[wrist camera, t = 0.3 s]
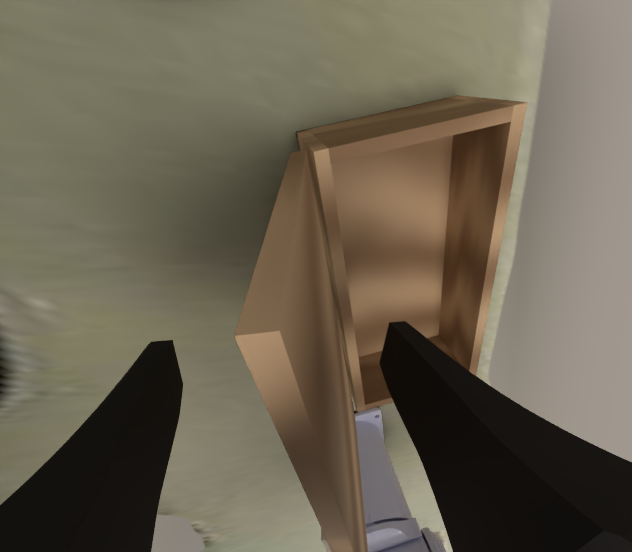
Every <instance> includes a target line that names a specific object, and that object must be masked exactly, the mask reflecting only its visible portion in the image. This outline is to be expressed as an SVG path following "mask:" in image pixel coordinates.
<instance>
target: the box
mask: <svg viewBox="0 0 632 552" xmlns="http://www.w3.org/2000/svg"><path fill="white" fill-rule="evenodd" d="M526 107H527V102H519V101H508V100H498V99H488V98H478V97H468V96H453V97H449V98H444V99H440V100H436V101H431V102H427V103H422V104H418V105H413V106H409V107H405V108H400V109H396V110H391V111H387V112H382V113H378V114H374V115H369V116H365V117H360V118H356V119H351V120H347V121H343V122H338V123H334V124H329V125H325V126H320V127H316V128H312V129H307V130H303V131H298V132H296V136H297V141H298V146H299V151H302V150H306V151H307V156H308V162H309V167H310V173H311V178H312V184H313V189H314V195H315V200H316V206H317V211H318V217H319V222H320V228H321V233H322V239H323V244H324V250H325V255H326V261H327V266H328V272H329V277H330V283H331V288H332V294H333V299H334V305H335V310H336V316H337V321H338V327H339V332H340V338H341V343H342V349H343V354H344V360H345V365H346V371H347V376H348V382H349V387H350V391H351V394H352V397H353V400H354V403H355V406H356V409H357V412H360V411H364V410H367V409H371V408H374V407H378V406H381V405H385V404H388V403H392V402H394V401H393V399H392V397H391V395H390V393H389V391H388V388H387V385H386V382H385V379H384V376H383V373H382V370H381V367H380V363H379V362H380V358H381V354H382V350H383V346H384V342H385V338H386V334H387V329H388V325H389V322H400V321H406V322H407V323H408V324H410V325H411V326H412V327H414V328H415V329H416V330H417V331H419V332H420V333H421V334H422V335H424V336H425V337H426V338H427V339H428V340H430V341H431V342H432V343H433V344H435V345H436V346H437V347H438V348H440V349H441V350H442V351H443V352H445V353H446V354H447V355H448V356H450V357H451V358H452V359H454V360H455V361H456V362H458V363H459V364H460V365H461V366H463V367H464V368H466V369H467V370H468V371H470V372H471V373H472V374H474V375H475V376H476V373H477V368H478V362H479V357H480V352H481V346H482V341H483V336H484V330H485V325H486V320H487V315H488V309H489V304H490V299H491V293H492V288H493V283H494V277H495V272H496V267H497V261H498V256H499V251H500V245H501V240H502V235H503V230H504V224H505V219H506V214H507V208H508V203H509V198H510V192H511V187H512V182H513V176H514V171H515V166H516V161H517V155H518V150H519V145H520V139H521V134H522V129H523V123H524V118H525V113H526Z"/></svg>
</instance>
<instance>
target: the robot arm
mask: <svg viewBox="0 0 632 552" xmlns="http://www.w3.org/2000/svg"><path fill="white" fill-rule="evenodd" d="M379 363H380V367H381V370H382V373H383V376H384V379H385V382H386V385H387V388H388V391H389V393H390V395H391V397H392V399H393V401H394V403H395V406H396V408H397V410H398V412H399V414H400V416H401V418H402V420H403V422H404V425H405V427H406V429H407V431H408V433H409V435H410V437H411V439H412V441H413V443H414V445H415V447H416V450H417V452H418V454H419V456H420V459H421V461H422V463H423V466H424V469H425V471H426V474H427V477H428V479H429V482H430V485H431V488H432V490H433V493H434V496H435V499H436V502H437V504H438V507H439V510H440V513H441V516H442V519H443V522H444V525H445V528H446V531H447V534H448V537H449V540H450V543H451V546H452V550H453V552H632V462H629V461H627V460H625V459H622V458H620V457H618V456H616V455H614V454H612V453H609V452H607V451H605V450H603V449H601V448H599V447H597V446H595V445H593V444H590V443H589V442H587V441H584V440H583V439H581V438H579V437H577V436H574V435H573V434H571V433H569V432H567V431H565V430H563V429H561V428H559V427H558V426H556V425H554V424H552V423H550V422H548V421H546V420H545V419H543V418H541V417H539V416H538V415H536V414H534V413H532V412H530V411H529V410H527V409H525V408H523V407H522V406H521V405H519V404H517V403H516V402H514V401H512V400H511V399H509V398H508V397H506V396H505V395H503V394H501V393H500V392H498V391H497V390H495V389H494V388H492V387H491V386H489V385H488V384H486V383H485V382H484V381H482V380H481V379H479V378H478V377H477V376H475V375H474V374H472V373H471V372H470V371H468V370H467V369H466V368H464V367H463V366H461V365H460V364H459V363H458V362H456V361H455V360H454V359H452V358H451V357H450V356H448V355H447V354H446V353H445V352H443V351H442V350H441V349H440V348H438V347H437V346H436V345H435V344H433V343H432V342H431V341H430V340H428V339H427V338H426V337H425V336H424V335H422V334H421V333H420V332H419V331H417V330H416V329H415V328H414V327H412V326H411V325H410V324H408V323H407V322H406V321H400V322H389V325H388V329H387V334H386V338H385V342H384V346H383V350H382V354H381V358H380V362H379ZM182 390H183V382H182V378H181V373H180V369H179V365H178V361H177V357H176V353H175V349H174V345H173V340H168V341H156V342H151V343H150V344H149V345H148V346H147V347H146V348H145V350H144V351H143V352H142V353H141V355H140V356H139V357H138V359H137V360H136V361H135V363H134V364H133V365H132V366H131V368H130V369H129V370H128V371H127V373H126V374H125V375H124V377H123V378H122V379H121V380H120V382H119V383H118V384H117V385H116V386H115V388H114V389H113V390H112V391H111V392H110V394H109V395H108V396H107V397H106V398H105V400H104V401H103V402H102V403H101V404H100V405H99V407H98V408H97V409H96V410H95V411H94V412H93V413H92V414H91V415H90V417H89V418H88V419H87V420H86V421H85V422H84V423H83V424H82V425H81V427H80V428H79V429H78V430H77V431H76V432H75V433H74V434H73V435H72V436H71V437H70V439H69V440H68V441H67V442H66V443H65V444H64V445H63V446H62V447H61V448H60V449H59V450H58V451H57V452H56V453H55V454H54V455H53V456H52V457H51V458H50V459H49V460H48V461H47V462H46V463H45V464H44V465H43V466H42V467H41V468H40V469H39V470H38V471H37V472H36V473H35V474H34V475H33V476H32V477H31V478H29V479H28V480H27V481H26V482H25V483H24V484H23V485H22V486H21V487H20V488H19V489H18V490H16V491H15V492H14V493H13V494H12V495H11V496H10V497H9V498H8V499H7V500H6V501H4V502H3V503H2V504H1V505H0V552H151V548H152V541H153V535H154V528H155V521H156V515H157V509H158V504H159V499H160V494H161V490H162V486H163V482H164V478H165V474H166V470H167V465H168V461H169V457H170V453H171V449H172V445H173V441H174V437H175V432H176V428H177V424H178V419H179V414H180V407H181V399H182ZM354 415H355V422H356V432H357V442H358V452H359V462H360V473H361V483H362V493H363V503H364V513H365V524H366V534H367V544H368V552H446V550H445V548H444V546H443V544H442V542H441V540H440V539H439V537H438V536H437V535H436V534H435V533H433V532H432V531H430V529H429V528H423V529H421V531H420V528H419V526H418V523H417V521H416V518H412V515H411V513H410V510H409V507H408V505H407V502H406V499H405V497H404V494H403V492H402V489H401V486H400V484H399V481H398V478H397V476H396V473H395V471H394V468H393V465H392V463H391V460H390V457H389V455H388V452H387V450H386V447H385V444H384V435H383V424H382V413H381V410H380V408H378V407H376V408H372V409H369V410H365V411H362V412H358V413H355V414H354Z"/></svg>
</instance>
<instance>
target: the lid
mask: <svg viewBox="0 0 632 552" xmlns="http://www.w3.org/2000/svg"><path fill="white" fill-rule="evenodd" d="M234 337H235V339H236V341H237V344H238V346H239V348H240V350H241V352H242V355H243V357H244V359H245V361H246V363H247V365H248V368H249V370H250V372H251V374H252V376H253V379H254V381H255V383H256V385H257V387H258V390H259V392H260V394H261V396H262V398H263V401H264V403H265V405H266V407H267V409H268V412H269V414H270V416H271V418H272V420H273V423H274V425H275V427H276V429H277V431H278V434H279V436H280V438H281V440H282V442H283V444H284V447H285V449H286V451H287V453H288V455H289V458H290V460H291V462H292V464H293V466H294V469H295V471H296V473H297V475H298V477H299V480H300V482H301V484H302V486H303V488H304V491H305V493H306V495H307V497H308V499H309V502H310V504H311V506H312V508H313V510H314V512H315V515H316V517H317V519H318V521H319V523H320V526H321V540H322V542H323V544H324V546H325V548H326V550H327V552H368V544H367V534H366V524H365V513H364V503H363V493H362V483H361V473H360V462H359V452H358V442H357V432H356V422H355V415H354V409H353V404H352V398H351V393H350V387H349V382H348V376H347V371H346V365H345V360H344V354H343V349H342V343H341V338H340V332H339V327H338V321H337V316H336V310H335V305H334V299H333V294H332V288H331V283H330V277H329V272H328V266H327V261H326V255H325V250H324V244H323V239H322V233H321V228H320V222H319V217H318V211H317V206H316V200H315V195H314V189H313V184H312V178H311V173H310V167H309V162H308V156H307V151H306V150H302V151H296V152H291V153H290V157H289V160H288V163H287V166H286V170H285V173H284V176H283V179H282V183H281V186H280V189H279V192H278V196H277V199H276V202H275V205H274V209H273V212H272V215H271V218H270V221H269V225H268V228H267V231H266V234H265V238H264V241H263V244H262V247H261V251H260V254H259V257H258V260H257V264H256V267H255V270H254V273H253V277H252V280H251V283H250V286H249V290H248V293H247V296H246V299H245V303H244V306H243V309H242V312H241V316H240V319H239V322H238V325H237V329H236V332H235V335H234Z"/></svg>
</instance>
